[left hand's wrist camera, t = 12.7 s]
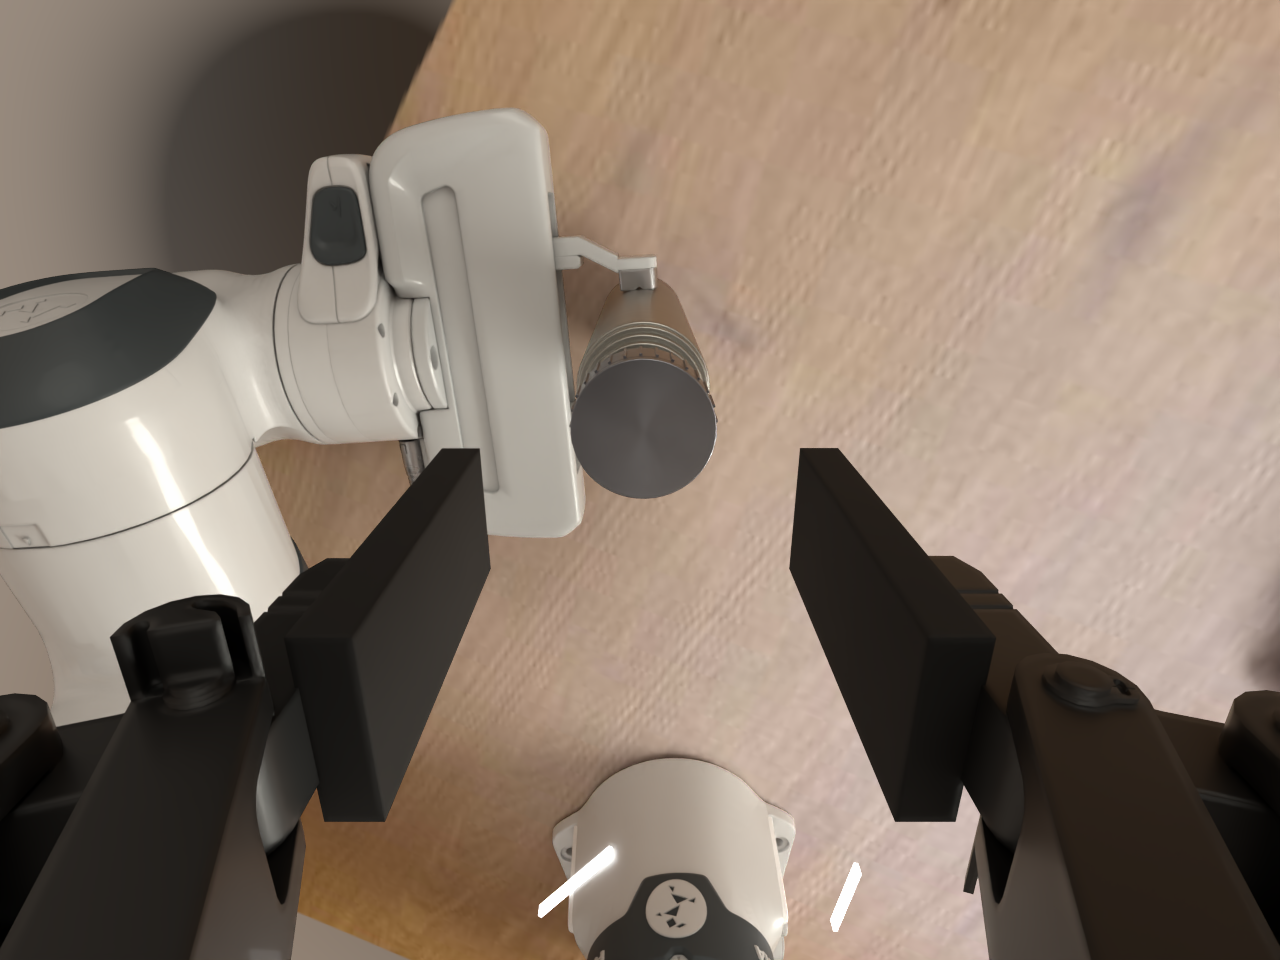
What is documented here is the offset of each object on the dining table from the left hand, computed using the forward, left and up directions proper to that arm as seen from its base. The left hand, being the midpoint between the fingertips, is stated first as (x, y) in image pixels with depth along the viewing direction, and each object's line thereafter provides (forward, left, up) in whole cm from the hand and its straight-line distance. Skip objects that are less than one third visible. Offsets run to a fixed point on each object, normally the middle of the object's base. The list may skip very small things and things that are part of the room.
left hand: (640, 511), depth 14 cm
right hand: (-1, +1, -21) cm, 21 cm away
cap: (0, 0, -6) cm, 6 cm away
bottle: (0, 0, -27) cm, 27 cm away
